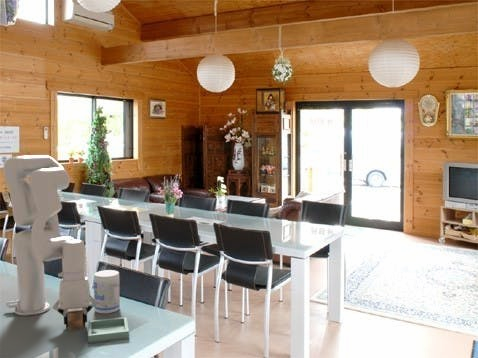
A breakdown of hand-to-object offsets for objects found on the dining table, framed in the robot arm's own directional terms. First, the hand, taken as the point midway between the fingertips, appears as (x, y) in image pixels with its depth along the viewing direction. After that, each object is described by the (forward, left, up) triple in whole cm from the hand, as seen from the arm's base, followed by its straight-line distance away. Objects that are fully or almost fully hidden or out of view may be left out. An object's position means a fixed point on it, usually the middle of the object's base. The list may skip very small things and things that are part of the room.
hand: (75, 324), depth 168 cm
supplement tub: (+11, +14, -1) cm, 18 cm away
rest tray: (+11, -9, -1) cm, 14 cm away
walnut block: (0, 0, -1) cm, 1 cm away
